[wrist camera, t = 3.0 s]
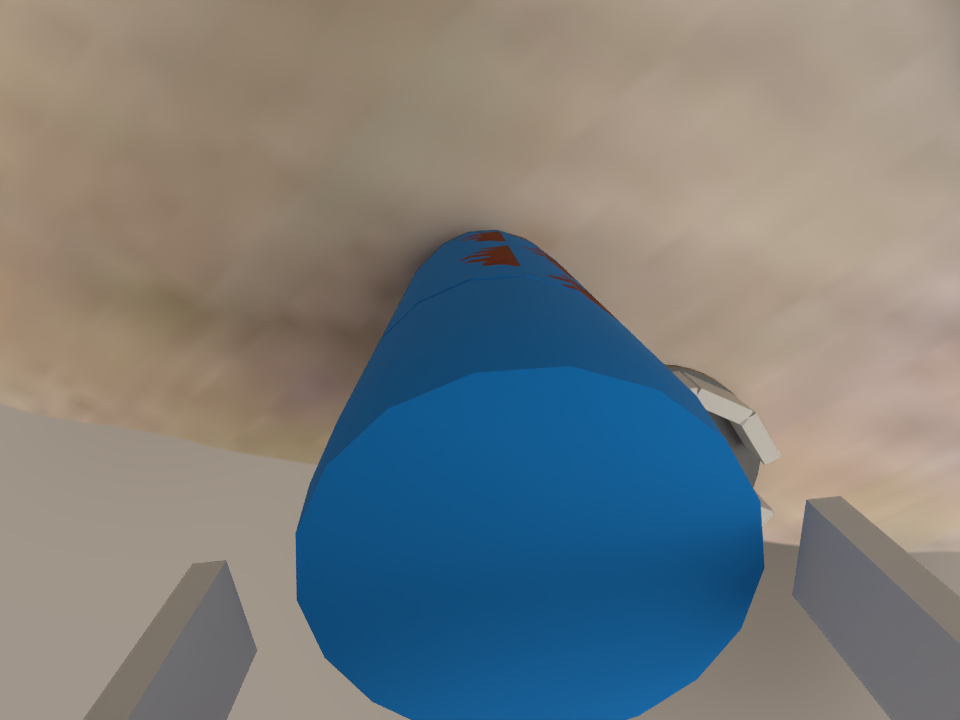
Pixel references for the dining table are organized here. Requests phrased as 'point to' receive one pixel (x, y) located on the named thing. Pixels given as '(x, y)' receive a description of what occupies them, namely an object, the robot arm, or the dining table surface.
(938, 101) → the dining table surface
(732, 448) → the bayonet base
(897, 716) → the robot arm
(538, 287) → the thermos
